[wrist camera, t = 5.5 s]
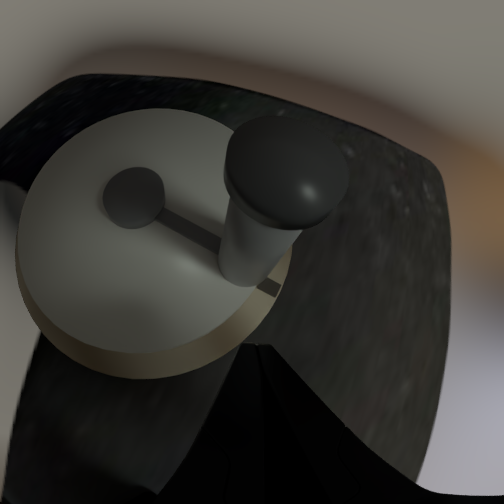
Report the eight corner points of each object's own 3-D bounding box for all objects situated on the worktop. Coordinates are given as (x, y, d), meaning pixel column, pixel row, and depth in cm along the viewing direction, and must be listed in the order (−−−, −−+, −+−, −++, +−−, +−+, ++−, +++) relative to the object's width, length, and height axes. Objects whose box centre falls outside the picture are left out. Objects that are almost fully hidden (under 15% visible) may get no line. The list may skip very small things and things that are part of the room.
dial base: (119, 432, 11) (107, 442, 9) (7, 215, 14) (-7, 200, 12) (333, 258, 18) (349, 244, 16) (185, 106, 20) (185, 86, 19)
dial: (107, 411, 10) (3, 455, 3) (6, 200, 12) (-55, 114, 5) (324, 239, 15) (413, 141, 8) (180, 97, 18) (185, -3, 10)
